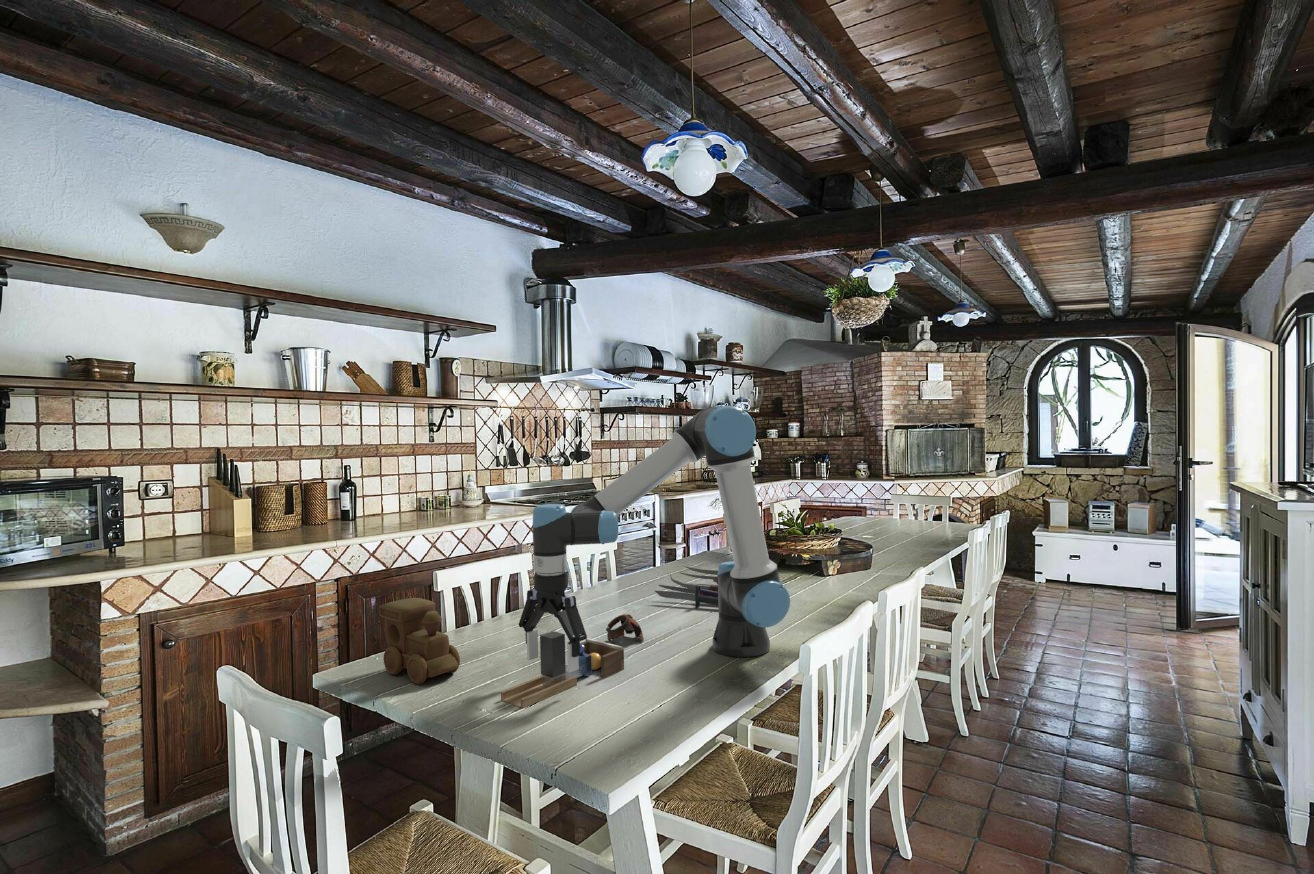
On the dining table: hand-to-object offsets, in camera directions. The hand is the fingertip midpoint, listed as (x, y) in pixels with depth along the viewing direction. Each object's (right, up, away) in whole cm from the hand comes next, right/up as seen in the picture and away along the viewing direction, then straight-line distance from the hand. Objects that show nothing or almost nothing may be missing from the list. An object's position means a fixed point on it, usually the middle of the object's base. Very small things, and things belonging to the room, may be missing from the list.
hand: (552, 664), depth 158 cm
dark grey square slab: (+3, -5, +3) cm, 7 cm away
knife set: (+43, -3, +81) cm, 92 cm away
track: (-2, -5, -3) cm, 7 cm away
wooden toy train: (-34, -6, +10) cm, 36 cm away
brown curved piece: (+16, -4, +33) cm, 37 cm away
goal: (+9, -5, +11) cm, 15 cm away
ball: (+9, -3, +11) cm, 14 cm away
